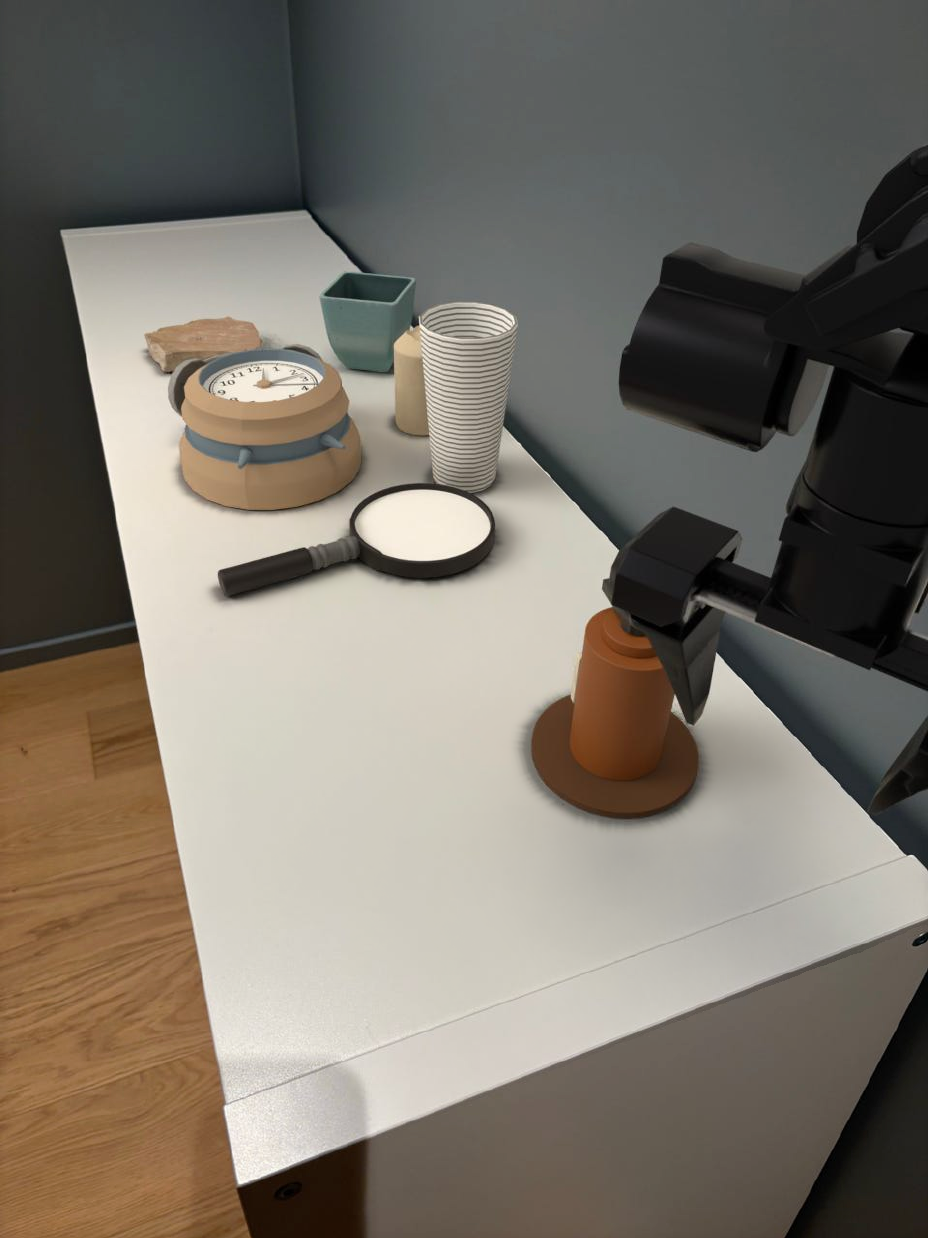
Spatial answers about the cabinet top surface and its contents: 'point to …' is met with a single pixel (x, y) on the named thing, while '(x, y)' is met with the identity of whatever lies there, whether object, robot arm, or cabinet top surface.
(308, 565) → the magnifying glass
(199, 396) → the alarm clock
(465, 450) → the cup
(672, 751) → the coaster
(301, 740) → the cabinet top surface
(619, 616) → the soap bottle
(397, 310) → the flower pot
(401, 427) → the candle
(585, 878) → the cabinet top surface
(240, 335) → the stone
